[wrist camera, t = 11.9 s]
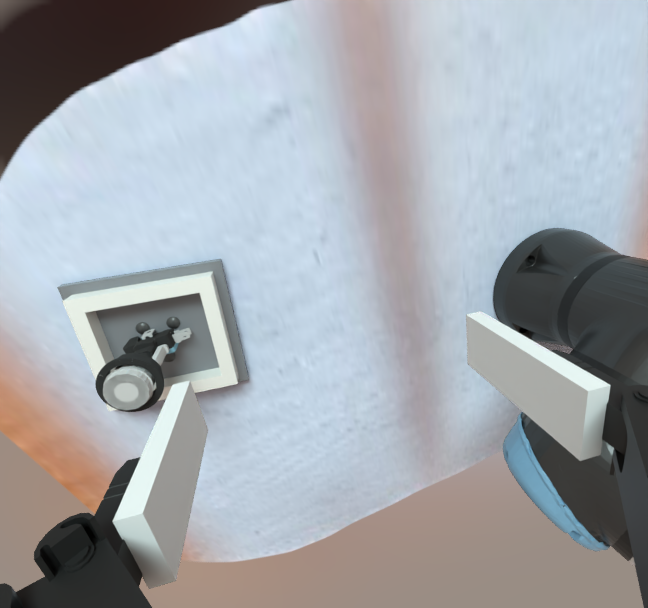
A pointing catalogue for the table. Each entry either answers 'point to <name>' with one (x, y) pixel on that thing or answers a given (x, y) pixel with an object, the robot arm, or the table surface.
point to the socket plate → (162, 321)
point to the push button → (138, 371)
